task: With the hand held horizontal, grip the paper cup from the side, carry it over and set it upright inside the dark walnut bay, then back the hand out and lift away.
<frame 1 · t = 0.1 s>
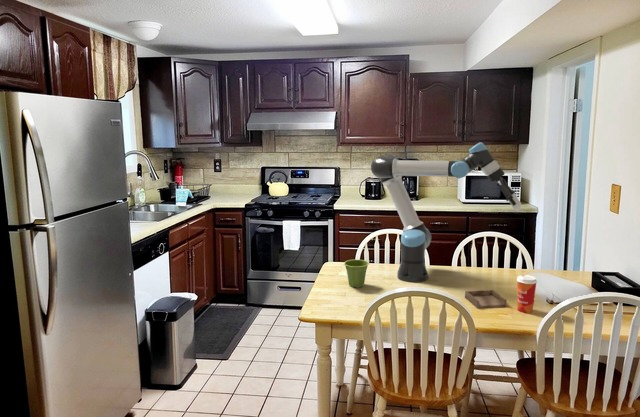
hand: (519, 208, 219), 36 cm above the table, tool tilted 35°, fingers open, 13 cm apart
walnut bay: (484, 302, 197), on the table
paper cup: (525, 310, 188), on the table
plant pot: (356, 285, 222), on the table
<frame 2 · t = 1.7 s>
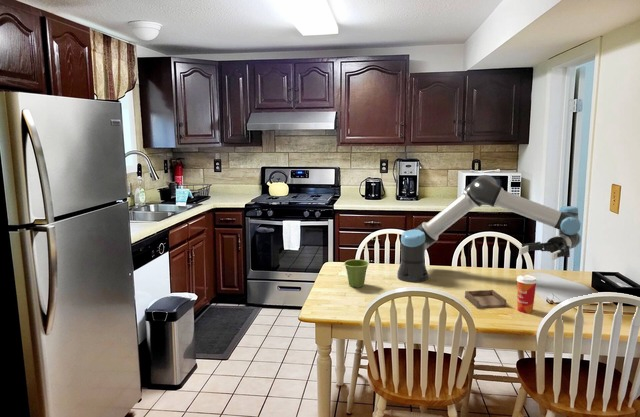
hand: (535, 254, 192), 22 cm above the table, tool horizontal, fingers open, 13 cm apart
nothing on the table moved.
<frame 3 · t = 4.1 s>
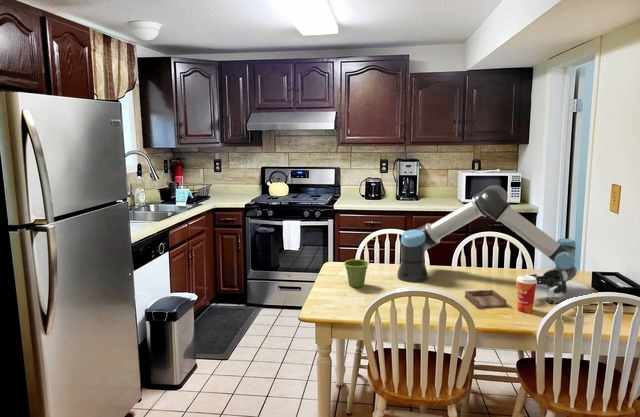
hand: (532, 288, 190), 8 cm above the table, tool horizontal, fingers open, 13 cm apart
nothing on the table moved.
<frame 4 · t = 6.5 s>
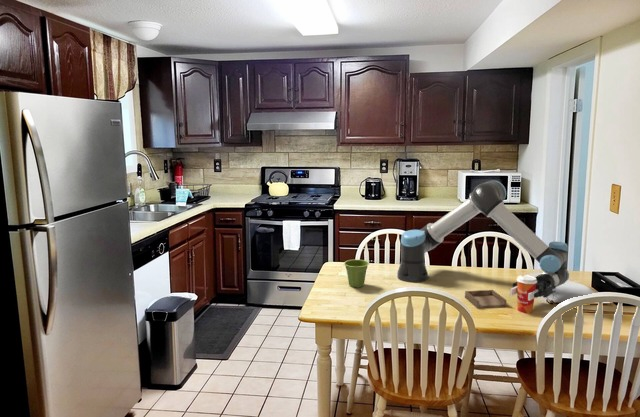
hand: (520, 294, 183), 8 cm above the table, tool horizontal, fingers closed on paper cup, 7 cm apart
paper cup: (524, 310, 188), on the table, touching gripper
everything else where it was.
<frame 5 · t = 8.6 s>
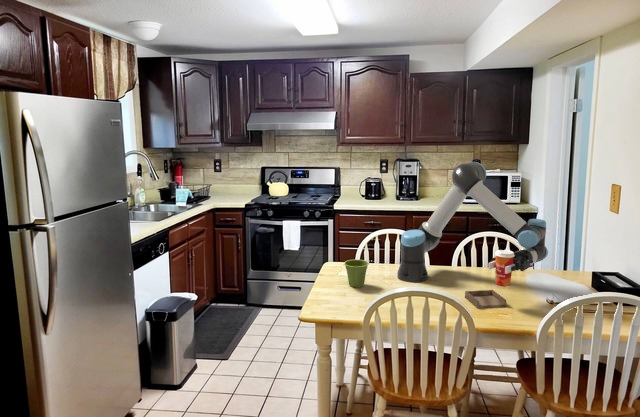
hand: (497, 268, 187), 17 cm above the table, tool horizontal, fingers closed on paper cup, 7 cm apart
paper cup: (502, 284, 192), point 9 cm above the table, touching gripper
everything else where it was.
when the fingers open (10 cm above the table, at t = 10.9 s): paper cup drops 1 cm, resting on walnut bay.
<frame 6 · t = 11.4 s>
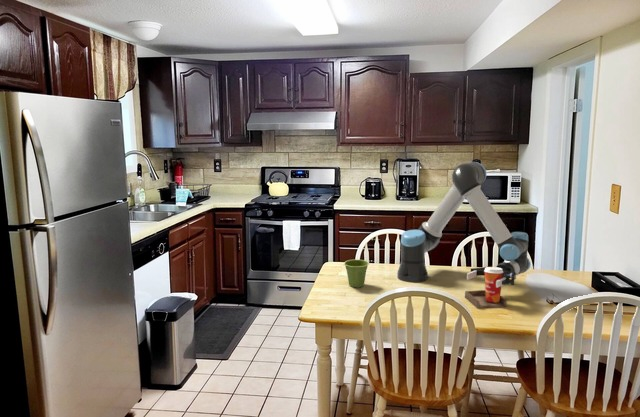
hand: (481, 280, 194), 10 cm above the table, tool horizontal, fingers open, 13 cm apart
paper cup: (492, 301, 195), point 1 cm above the table, touching gripper, walnut bay
everything else where it was.
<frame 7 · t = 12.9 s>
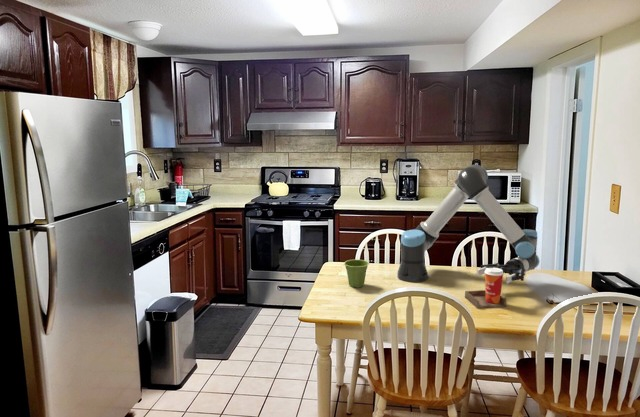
hand: (491, 276, 198), 11 cm above the table, tool horizontal, fingers open, 13 cm apart
paper cup: (492, 301, 195), point 1 cm above the table, touching walnut bay
everything else where it was.
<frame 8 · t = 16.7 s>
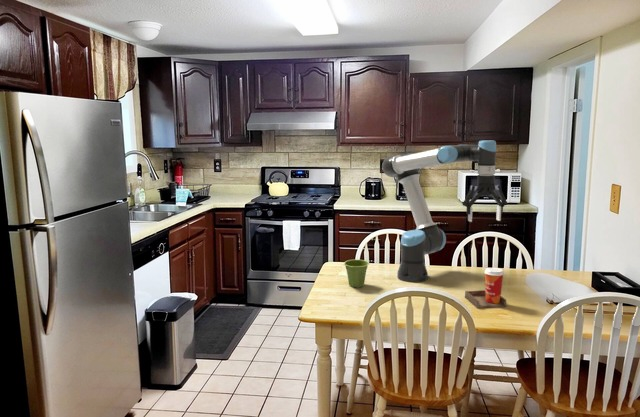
hand: (484, 220, 211), 32 cm above the table, tool pointing down, fingers open, 13 cm apart
nothing on the table moved.
at the end: paper cup 3.3 cm off-centre on the walnut bay, point 0.8 cm above the walnut bay's base; paper cup tilted 0°; the gripper is holding nothing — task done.
